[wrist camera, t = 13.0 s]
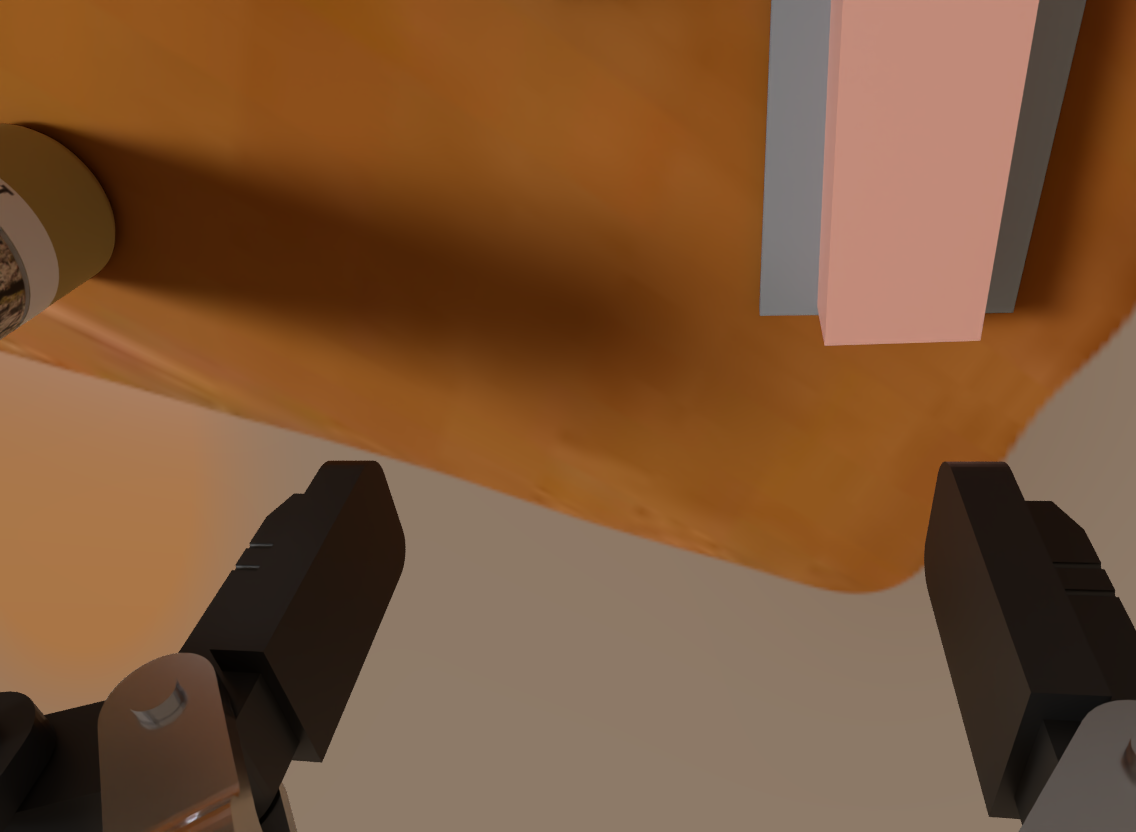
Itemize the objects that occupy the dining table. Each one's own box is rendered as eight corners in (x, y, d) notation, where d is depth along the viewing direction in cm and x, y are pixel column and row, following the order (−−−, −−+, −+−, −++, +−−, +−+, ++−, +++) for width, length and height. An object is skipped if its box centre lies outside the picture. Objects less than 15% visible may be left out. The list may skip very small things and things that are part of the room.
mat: (777, -159, 23) (778, -159, 23) (1124, -200, 22) (1133, -202, 21) (759, 308, 32) (760, 315, 31) (1008, 305, 30) (1012, 312, 30)
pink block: (837, -139, 23) (850, -137, 20) (1030, -168, 22) (1068, -170, 19) (817, 306, 31) (824, 345, 28) (959, 300, 30) (980, 340, 27)
